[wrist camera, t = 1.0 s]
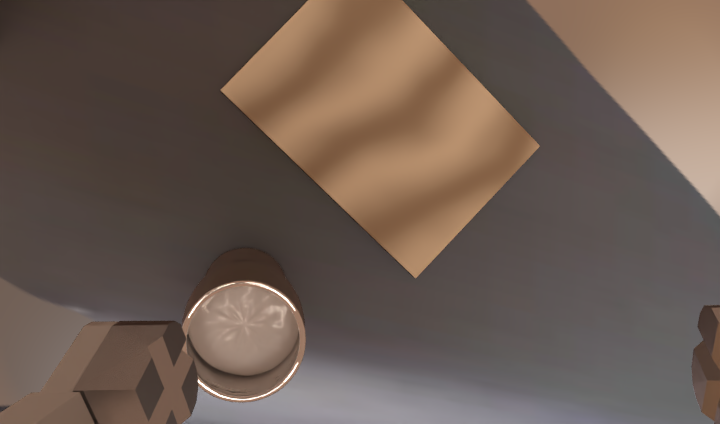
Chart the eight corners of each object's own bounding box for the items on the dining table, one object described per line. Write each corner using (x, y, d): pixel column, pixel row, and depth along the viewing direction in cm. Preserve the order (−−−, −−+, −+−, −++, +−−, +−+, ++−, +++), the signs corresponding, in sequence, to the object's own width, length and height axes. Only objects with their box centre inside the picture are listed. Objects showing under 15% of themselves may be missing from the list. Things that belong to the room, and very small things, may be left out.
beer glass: (229, 223, 50) (220, 251, 36) (310, 271, 52) (334, 318, 37) (178, 304, 50) (149, 366, 35) (260, 351, 51) (265, 429, 37)
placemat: (220, 90, 49) (220, 90, 49) (355, -47, 50) (356, -49, 50) (414, 277, 53) (415, 278, 52) (537, 146, 54) (539, 146, 53)
